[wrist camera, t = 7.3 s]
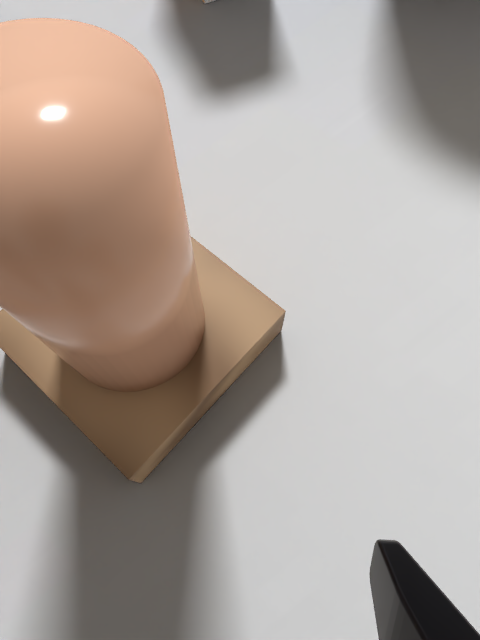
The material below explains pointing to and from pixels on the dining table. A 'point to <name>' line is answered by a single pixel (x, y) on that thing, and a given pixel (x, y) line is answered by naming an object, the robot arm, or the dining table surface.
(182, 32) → the dining table surface
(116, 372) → the peach domed cylinder
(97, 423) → the base board
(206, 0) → the small box
